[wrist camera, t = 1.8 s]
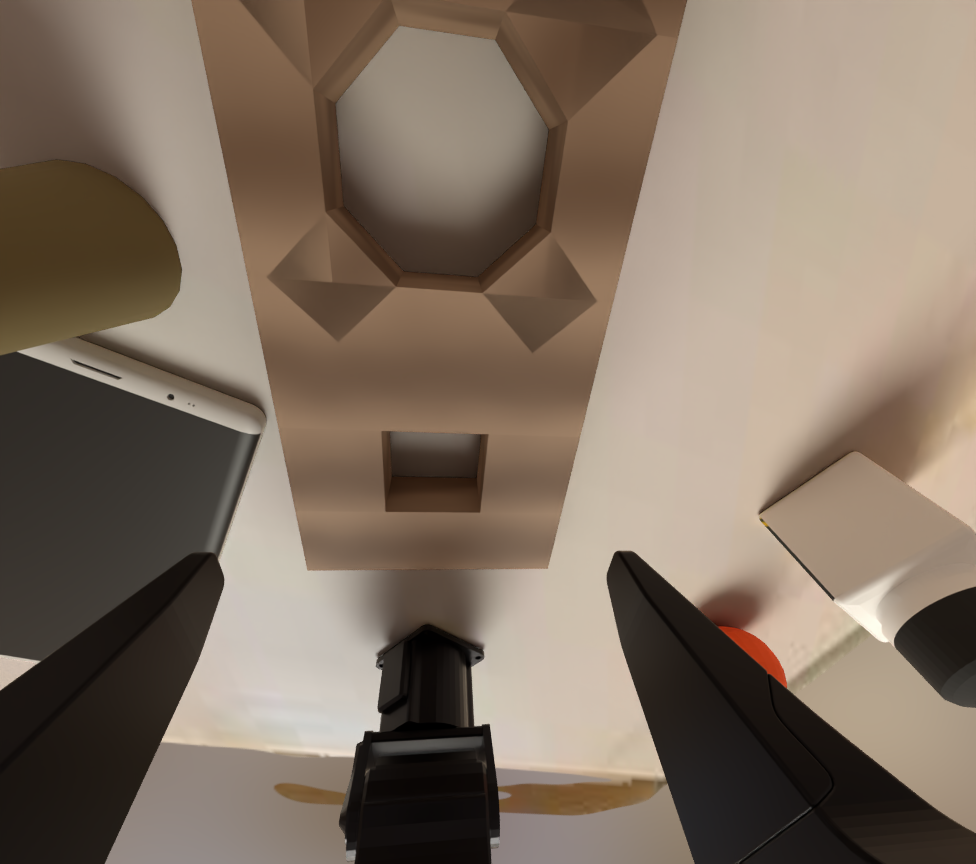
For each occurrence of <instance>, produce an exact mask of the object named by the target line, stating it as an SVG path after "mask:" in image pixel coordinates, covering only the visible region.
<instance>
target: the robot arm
mask: <svg viewBox="0 0 976 864" xmlns="http://www.w3.org/2000/svg"><path fill="white" fill-rule="evenodd" d="M607 585H608V589H609V594H610V598H611V603H612V607H613V612H614V616H615V620H616V625H617V629H618V634H619V638H620V642H621V646H622V649H623V652H624V655H625V658H626V661H627V664H628V667H629V670H630V673H631V676H632V679H633V682H634V685H635V688H636V691H637V694H638V697H639V700H640V703H641V706H642V709H643V712H644V715H645V718H646V721H647V724H648V727H649V730H650V732H651V735H652V738H653V741H654V744H655V747H656V750H657V753H658V756H659V759H660V762H661V765H662V768H663V771H664V774H665V777H666V780H667V783H668V786H669V789H670V791H671V794H672V798H673V800H674V804H675V806H676V809H677V812H678V815H679V818H680V821H681V824H682V827H683V830H684V833H685V836H686V839H687V842H688V845H689V848H690V851H691V854H692V857H693V860H694V862H695V864H976V833H974V832H972V831H971V830H969V829H967V828H965V827H963V826H962V825H960V824H958V823H957V822H955V821H953V820H952V819H950V818H949V817H947V816H946V815H944V814H943V813H941V812H940V811H938V810H937V809H935V808H934V807H933V806H931V805H930V804H929V803H927V802H926V801H925V800H923V799H922V798H921V797H919V796H918V795H917V794H916V793H915V792H913V791H912V790H911V789H909V788H908V787H907V786H906V785H904V784H903V783H902V782H900V781H899V780H898V779H897V778H896V777H894V776H893V775H892V774H891V773H889V772H888V771H887V770H885V769H884V768H883V767H882V766H880V765H879V764H878V763H877V762H875V761H874V760H873V759H872V758H870V757H869V756H868V755H866V754H865V753H864V752H863V751H862V750H860V749H859V748H858V747H857V746H855V745H854V744H853V743H851V742H850V741H849V740H848V739H846V738H845V737H844V736H842V734H840V733H839V732H838V731H837V730H835V729H834V728H833V727H832V726H830V725H829V724H828V723H827V722H825V721H824V720H823V719H822V718H821V717H819V716H818V715H817V714H816V713H814V712H813V711H812V710H811V709H810V708H809V707H808V706H806V705H805V704H804V703H803V702H802V701H801V700H799V699H798V698H797V697H796V696H795V695H794V694H793V693H791V692H790V691H789V690H788V689H787V688H786V687H785V686H784V685H782V684H781V683H780V682H779V681H778V680H777V679H776V678H775V677H773V676H772V675H771V674H768V673H767V671H766V669H764V668H763V667H762V666H761V665H760V664H759V663H758V662H757V661H755V660H754V659H753V658H752V657H751V656H750V655H749V654H748V653H747V652H745V651H744V650H743V649H742V648H741V647H740V646H739V645H738V644H736V643H735V642H734V641H733V640H732V639H731V638H730V637H729V636H728V635H726V634H725V633H724V632H723V631H722V630H721V629H720V628H719V627H717V626H716V625H715V624H714V623H713V622H712V621H711V620H710V619H709V618H707V617H706V616H705V615H704V614H703V613H702V612H701V611H700V610H698V609H697V608H696V607H695V606H694V605H693V604H692V603H691V602H690V601H688V600H687V599H686V598H685V597H684V596H683V595H682V594H681V593H680V592H678V591H677V590H676V589H675V588H674V587H673V586H672V585H671V584H669V583H668V582H667V581H666V580H665V579H664V578H663V577H662V576H661V575H659V574H658V573H657V572H656V571H655V570H654V569H653V568H652V567H650V566H649V565H648V564H647V563H646V562H645V561H644V560H643V559H642V558H640V557H639V556H638V555H637V554H636V553H635V552H633V551H616V552H615V553H614V555H613V558H612V561H611V564H610V567H609V569H608V572H607ZM223 587H224V575H223V572H222V569H221V567H220V564H219V561H218V558H217V556H216V554H215V553H213V552H193V553H191V554H189V555H187V556H186V557H184V558H183V559H182V560H180V561H179V562H177V563H176V564H175V565H173V566H172V567H171V568H169V569H168V570H166V571H165V572H164V573H162V574H161V575H159V576H158V577H157V578H155V579H154V580H153V581H151V582H150V583H148V584H147V585H146V586H144V587H143V588H141V589H140V590H139V591H137V592H136V593H135V594H133V595H132V596H130V597H129V598H128V599H126V600H125V601H123V602H122V603H121V604H119V605H118V606H117V607H115V608H114V609H112V610H111V611H110V612H108V613H107V614H105V615H104V616H103V617H101V618H100V619H99V620H97V621H96V622H94V623H93V624H92V625H90V626H89V627H87V628H86V629H85V630H83V631H82V632H80V633H79V634H78V635H76V636H75V637H74V638H72V639H71V640H69V641H68V642H67V643H65V644H64V645H62V646H61V647H60V648H58V649H57V650H56V651H54V652H53V653H51V654H50V655H49V656H47V657H46V658H44V659H43V660H42V661H40V662H39V663H38V664H36V665H35V666H33V667H32V668H31V669H29V670H28V671H26V672H25V673H24V674H22V675H21V676H20V677H18V678H17V679H15V680H14V681H13V682H11V683H10V684H8V685H7V686H6V687H4V688H3V689H2V690H0V864H105V862H106V859H107V857H108V855H109V853H110V851H111V848H112V846H113V844H114V842H115V840H116V838H117V836H118V833H119V831H120V829H121V827H122V825H123V823H124V820H125V818H126V816H127V814H128V812H129V809H130V807H131V805H132V803H133V801H134V799H135V797H136V795H137V792H138V790H139V788H140V786H141V784H142V782H143V779H144V777H145V775H146V773H147V771H148V768H149V766H150V764H151V762H152V760H153V758H154V756H155V753H156V751H157V749H158V747H159V745H160V743H161V740H162V738H163V736H164V734H165V732H166V730H167V727H168V725H169V723H170V721H171V719H172V717H173V714H174V712H175V710H176V708H177V706H178V704H179V701H180V699H181V697H182V695H183V693H184V691H185V688H186V686H187V684H188V682H189V680H190V678H191V675H192V673H193V671H194V669H195V666H196V664H197V662H198V660H199V657H200V654H201V652H202V649H203V646H204V643H205V640H206V637H207V634H208V631H209V629H210V626H211V623H212V620H213V617H214V614H215V611H216V608H217V605H218V602H219V599H220V596H221V593H222V590H223ZM483 659H484V651H482V650H481V649H479V648H476V647H474V646H472V645H470V644H468V643H466V642H464V641H462V640H460V639H458V638H456V637H454V636H452V635H450V634H448V633H446V632H444V631H441V630H439V629H437V628H435V627H433V626H431V625H424V626H422V627H421V628H420V629H418V630H417V631H415V632H414V633H413V634H411V635H410V636H409V637H407V638H406V639H404V640H403V641H402V642H400V643H399V644H398V645H396V646H395V647H393V648H392V649H391V650H389V651H388V652H387V653H385V654H384V655H382V656H381V657H380V658H378V659H377V662H376V667H377V668H378V669H381V670H382V676H381V684H380V692H379V700H378V712H379V713H382V714H381V723H380V731H379V732H373V731H365V733H364V738H363V741H362V742H360V743H358V744H357V746H356V752H355V758H354V765H353V770H352V775H351V779H350V782H349V786H348V789H347V793H346V796H345V800H344V803H343V807H342V810H341V814H340V820H339V827H340V828H341V830H342V831H343V833H344V834H345V844H346V859H347V862H353V861H355V864H491V849H493V848H498V847H499V840H500V815H499V798H498V787H497V778H496V771H495V763H494V755H493V747H492V739H491V731H490V724H482V726H474V714H473V694H472V674H471V667H472V666H474V665H475V664H477V663H478V662H480V661H482V660H483Z"/></svg>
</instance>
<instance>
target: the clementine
mask: <svg viewBox="0 0 976 864" xmlns="http://www.w3.org/2000/svg"><path fill="white" fill-rule="evenodd" d="M719 628H720V629H721V630H722V631H723V632H724V633H725V634H726V635H728V636H729V637H730V638H731V639H732V640H733V641H734V642H735V643H736V644H738V645H739V646H740V647H741V648H742V649H743V650H744V651H745V652H747V653H748V654H749V655H750V656H751V657H752V658H753V659H754V660H755V661H757V662H758V663H759V664H760V665H761V666H762V667H763V668H764V669H766V671H767V673H768V674H771V675H772V676H773V677H775V678H776V679H777V680H778V681H779V682H780V683H781V684H782V685H784V686H785V687H786V688H787V682H786V678H785V674H784V670H783V668H782V666H781V664H780V662H779V661H778V659H777V657H776V656H775V655H774V653H773V652H772V651H771V650H770V649H769V648H768V646H767V645H766V644H765V643H764V642H762V641H761V640H760V639H758V638H757V637H756V636H754V635H752V634H750V633H748V632H746V631H743V630H741V629H739V628H734V627H726V626H719Z"/></svg>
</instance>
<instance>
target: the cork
mask: <svg viewBox="0 0 976 864" xmlns="http://www.w3.org/2000/svg"><path fill="white" fill-rule="evenodd" d="M181 273H182V268H181V264H180V260H179V255H178V251H177V247H176V244H175V243H174V241H173V239H172V237H171V235H170V233H169V231H168V230H167V228H166V226H165V224H164V222H163V220H162V219H161V218H160V217H159V216H158V215H157V214H156V212H155V211H154V210H153V209H152V208H151V207H150V206H149V204H148V203H147V202H146V201H145V200H144V199H143V198H142V197H141V196H140V195H139V194H137V193H136V192H135V191H133V190H132V189H131V188H129V187H128V186H127V185H125V184H124V183H123V182H121V181H120V180H119V179H117V178H116V177H114V176H112V175H110V174H107V173H105V172H103V171H101V170H98V169H96V168H94V167H92V166H89V165H87V164H84V163H77V162H70V161H63V160H51V161H45V162H39V163H33V164H27V165H22V166H16V167H10V168H4V169H0V355H4V354H8V353H12V352H16V351H20V350H24V349H28V348H32V347H36V346H40V345H44V344H48V343H52V342H56V341H60V340H64V339H68V338H73V337H77V336H81V335H85V334H89V333H93V332H97V331H101V330H105V329H109V328H113V327H117V326H121V325H125V324H129V323H133V322H137V321H141V320H145V319H149V318H153V317H155V316H157V315H158V314H160V313H161V312H163V311H164V310H166V309H167V308H169V307H170V306H171V304H172V303H173V301H174V299H175V297H176V296H177V294H178V292H179V291H180V282H181Z"/></svg>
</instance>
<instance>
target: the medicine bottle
mask: <svg viewBox="0 0 976 864" xmlns="http://www.w3.org/2000/svg"><path fill="white" fill-rule="evenodd" d="M759 519H760V521H761V522H762V523H763V524H764V525H765V526H766V527H767V529H768V530H769V531H770V532H771V533H772V534H773V535H774V536H775V537H776V538H777V540H778V541H779V542H780V543H781V544H782V545H783V546H784V547H785V548H786V549H787V551H788V552H789V553H790V554H791V555H792V556H793V557H794V558H795V559H796V561H797V562H798V563H799V564H800V565H801V566H802V567H803V568H804V569H805V570H806V572H807V573H808V574H809V575H810V576H811V577H812V578H813V579H814V580H815V581H816V583H817V584H818V585H819V586H820V587H821V588H822V589H823V590H824V591H825V592H826V594H827V595H828V596H829V597H830V598H831V599H832V600H833V601H834V602H835V603H836V604H837V605H838V606H839V607H841V608H842V609H843V610H844V611H845V612H846V613H848V614H849V615H850V616H851V617H852V618H853V619H855V620H856V621H857V622H858V623H859V624H860V625H862V626H863V627H864V628H865V629H866V630H867V631H868V632H870V633H871V634H872V635H873V636H874V637H876V638H877V639H878V640H880V641H882V642H890V643H891V644H892V645H893V646H894V647H895V648H896V649H897V650H898V651H899V652H900V653H901V654H902V655H903V656H904V657H905V658H906V660H907V661H908V662H909V663H910V664H911V665H912V666H913V667H914V668H915V669H916V670H917V671H918V672H919V673H920V674H921V675H922V676H923V677H924V679H925V680H926V681H927V682H928V683H929V684H930V685H931V686H932V687H933V688H934V689H935V690H936V691H937V692H938V693H939V694H940V695H941V696H942V697H943V698H944V699H945V700H947V701H949V702H952V703H954V704H957V705H959V706H963V707H975V708H976V534H975V532H974V531H973V529H972V528H971V527H970V526H968V525H967V524H965V523H964V522H962V521H961V520H959V519H958V518H956V517H955V516H953V515H952V514H950V513H949V512H947V511H946V510H944V509H943V508H942V507H940V506H939V505H937V504H936V503H934V502H933V501H931V500H930V499H928V498H927V497H925V496H924V495H922V494H921V493H919V492H918V491H916V490H915V489H913V488H912V487H910V486H909V485H907V484H906V483H904V482H903V481H901V480H900V479H898V478H897V477H895V476H894V475H892V474H891V473H889V472H888V471H886V470H885V469H884V468H882V467H881V466H879V465H878V464H876V463H875V462H873V461H872V460H870V459H869V458H867V457H866V456H864V455H863V454H861V453H859V452H856V451H855V452H851V453H849V454H847V455H846V456H844V457H843V458H842V459H840V460H839V461H837V462H836V463H834V464H833V465H831V466H830V467H828V468H827V469H825V470H824V471H822V472H821V473H819V474H818V475H816V476H815V477H813V478H812V479H811V480H809V481H808V482H806V483H805V484H803V485H802V486H800V487H799V488H797V489H796V490H794V491H793V492H791V493H790V494H788V495H787V496H785V497H784V498H782V499H781V500H780V501H778V502H777V503H775V504H774V505H772V506H771V507H769V508H768V509H766V510H765V511H763V512H762V513H761V514H760V515H759Z"/></svg>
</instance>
